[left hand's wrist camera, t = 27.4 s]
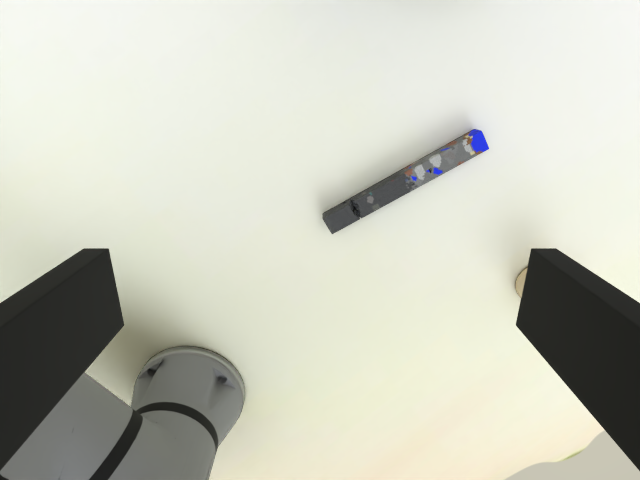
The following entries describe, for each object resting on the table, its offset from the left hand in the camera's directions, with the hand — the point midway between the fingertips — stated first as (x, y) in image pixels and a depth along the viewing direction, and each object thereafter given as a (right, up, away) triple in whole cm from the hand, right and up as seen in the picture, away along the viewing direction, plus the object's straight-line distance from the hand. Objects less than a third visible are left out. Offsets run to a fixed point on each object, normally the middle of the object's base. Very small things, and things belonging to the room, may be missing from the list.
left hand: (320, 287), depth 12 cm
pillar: (+10, +9, +34) cm, 36 cm away
